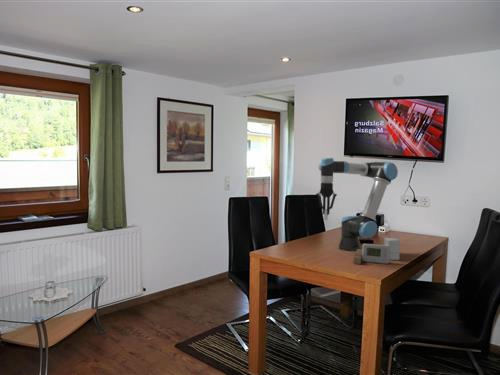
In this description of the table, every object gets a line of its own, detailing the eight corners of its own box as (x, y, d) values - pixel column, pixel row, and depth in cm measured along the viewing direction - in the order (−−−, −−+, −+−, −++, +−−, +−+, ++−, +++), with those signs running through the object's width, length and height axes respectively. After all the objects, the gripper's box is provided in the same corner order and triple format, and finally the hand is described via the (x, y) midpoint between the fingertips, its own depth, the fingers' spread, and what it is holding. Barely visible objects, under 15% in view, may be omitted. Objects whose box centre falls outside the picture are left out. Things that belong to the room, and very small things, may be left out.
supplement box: (395, 257, 255) (395, 237, 254) (399, 260, 248) (400, 240, 247) (383, 257, 255) (384, 237, 254) (387, 260, 247) (388, 240, 246)
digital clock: (360, 261, 243) (360, 244, 243) (364, 258, 251) (365, 242, 250) (387, 265, 234) (387, 248, 234) (390, 262, 242) (391, 245, 241)
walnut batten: (356, 254, 260) (357, 248, 260) (363, 255, 259) (363, 249, 259) (353, 263, 238) (353, 257, 237) (360, 264, 236) (360, 258, 236)
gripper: (315, 182, 247) (314, 219, 249) (336, 183, 243) (335, 221, 245) (317, 181, 254) (316, 218, 256) (338, 182, 250) (337, 219, 252)
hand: (325, 219), depth 250 cm, fingers closed
